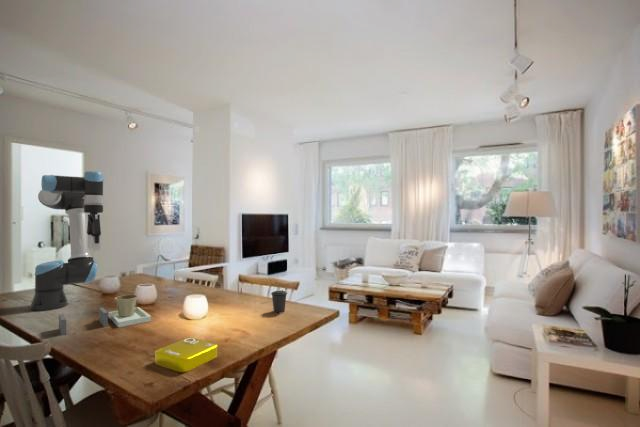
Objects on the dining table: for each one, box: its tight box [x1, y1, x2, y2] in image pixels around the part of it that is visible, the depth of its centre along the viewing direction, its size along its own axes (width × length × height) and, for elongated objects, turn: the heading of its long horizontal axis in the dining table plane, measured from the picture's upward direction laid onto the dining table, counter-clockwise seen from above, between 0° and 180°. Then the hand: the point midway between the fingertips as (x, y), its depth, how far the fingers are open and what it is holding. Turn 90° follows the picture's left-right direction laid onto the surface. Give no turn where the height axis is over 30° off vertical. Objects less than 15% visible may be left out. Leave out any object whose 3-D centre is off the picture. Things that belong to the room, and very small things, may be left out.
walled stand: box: [58, 307, 109, 336], centre depth 146 cm, size 10×16×6 cm, turn 132°
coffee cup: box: [270, 290, 288, 314], centre depth 170 cm, size 8×8×10 cm
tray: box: [108, 306, 152, 328], centre depth 157 cm, size 20×13×2 cm, turn 42°
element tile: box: [154, 337, 218, 373], centre depth 114 cm, size 15×15×5 cm
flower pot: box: [114, 294, 139, 317], centre depth 160 cm, size 9×9×9 cm
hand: (93, 249), depth 162 cm, fingers open, 13 cm apart
